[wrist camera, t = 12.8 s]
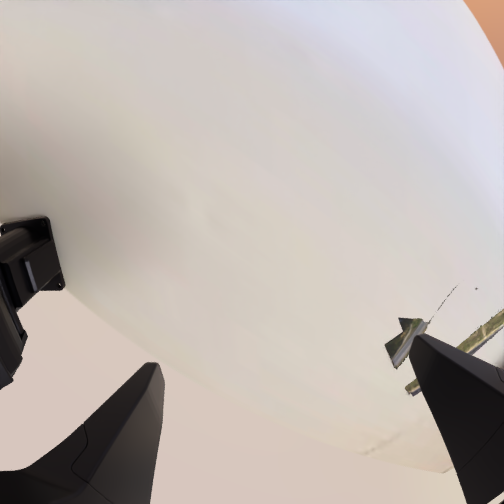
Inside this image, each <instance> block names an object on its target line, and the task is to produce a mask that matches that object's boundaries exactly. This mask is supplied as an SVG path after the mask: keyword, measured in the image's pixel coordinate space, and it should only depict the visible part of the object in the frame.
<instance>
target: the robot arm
mask: <svg viewBox="0 0 504 504" xmlns="http://www.w3.org/2000/svg"><path fill="white" fill-rule="evenodd" d="M43 221H44V222H45V225H44V223H43ZM4 229H5V231H4ZM0 233H1V237H0V390H1V389H2V388H3V387H5V386H7V385H8V384H10V383H12V382H13V378H12V377H13V375H14V374H15V372H16V370H17V368H18V367H19V366H20V364H21V362H22V359H23V358H22V356H21V354H22V352H23V349H24V346H25V343H26V340H27V337H28V336H27V333H26V331H25V330H24V329H23V327H22V325H21V323H20V320H19V318H18V315H17V312H18V310H19V309H20V308H21V307H23V306H24V305H25V304H26V303H27V302H28V301H29V300H30V299H31V298H32V297H33V296H34V295H35V294H36V293H37V292H39V291H54V290H55V291H60V290H62V289H63V288H64V287H65V281H64V278H63V275H62V271H61V267H60V263H59V259H58V256H57V251H56V247H55V243H54V239H53V234H52V230H51V225H50V220H49V219H48V217H45V216H44V217H38V218H32V219H27V220H21V221H16V222H11V223H5V224H3V225H1V226H0ZM59 283H60V285H61V286H60V285H59ZM409 359H410V362H411V364H412V367H413V370H414V372H415V375H416V378H417V380H418V383H419V386H420V389H421V391H422V393H423V395H424V397H425V400H426V402H427V404H428V406H429V408H430V410H431V412H432V415H433V417H434V419H435V421H436V424H437V426H438V428H439V431H440V433H441V435H442V438H443V440H444V442H445V445H446V447H447V450H448V452H449V455H450V457H451V460H452V462H453V465H454V468H455V470H456V472H457V476H458V479H459V482H460V485H461V487H462V490H463V493H464V496H465V499H466V503H467V504H487V503H489V502H490V501H491V500H493V499H494V498H496V497H497V496H498V495H500V494H501V493H502V492H504V370H502V369H500V368H498V367H495V366H494V365H491V364H489V363H487V362H485V361H483V360H481V359H479V358H476V357H474V356H472V355H470V354H468V353H466V352H464V351H462V350H459V349H457V348H455V347H453V346H451V345H449V344H447V343H445V342H442V341H440V340H438V339H436V338H434V337H432V336H430V335H427V334H425V333H422V334H418V335H415V337H414V338H413V341H412V344H411V347H410V350H409ZM164 390H165V382H164V378H163V374H162V372H161V368H160V365H159V364H158V363H156V362H147V363H145V364H144V365H143V366H142V367H141V368H140V369H139V370H138V371H137V372H136V373H135V374H134V375H133V376H132V377H131V378H130V379H129V380H127V381H126V382H125V383H124V384H123V385H122V386H121V387H120V388H119V389H118V390H117V391H116V392H115V393H114V394H113V395H112V396H111V397H110V398H109V399H108V400H107V401H105V403H103V405H101V406H100V407H99V408H98V409H97V410H96V411H95V412H94V413H93V414H92V415H91V416H90V417H89V418H88V419H87V420H86V421H85V422H84V424H81V426H79V427H78V428H77V429H76V430H75V431H74V432H73V433H72V434H71V435H70V436H68V437H67V438H66V439H65V440H64V441H62V442H61V443H60V444H59V445H57V446H56V447H55V448H54V449H52V450H51V451H49V452H48V453H47V454H45V455H44V456H43V457H41V458H40V459H39V460H37V461H36V462H35V463H33V464H32V465H30V466H28V467H26V468H24V469H21V470H15V471H0V504H150V499H151V492H152V485H153V478H154V470H155V465H156V459H157V452H158V446H159V441H160V435H161V429H162V421H163V405H164ZM499 504H504V500H503V501H502V502H500V503H499Z"/></svg>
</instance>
